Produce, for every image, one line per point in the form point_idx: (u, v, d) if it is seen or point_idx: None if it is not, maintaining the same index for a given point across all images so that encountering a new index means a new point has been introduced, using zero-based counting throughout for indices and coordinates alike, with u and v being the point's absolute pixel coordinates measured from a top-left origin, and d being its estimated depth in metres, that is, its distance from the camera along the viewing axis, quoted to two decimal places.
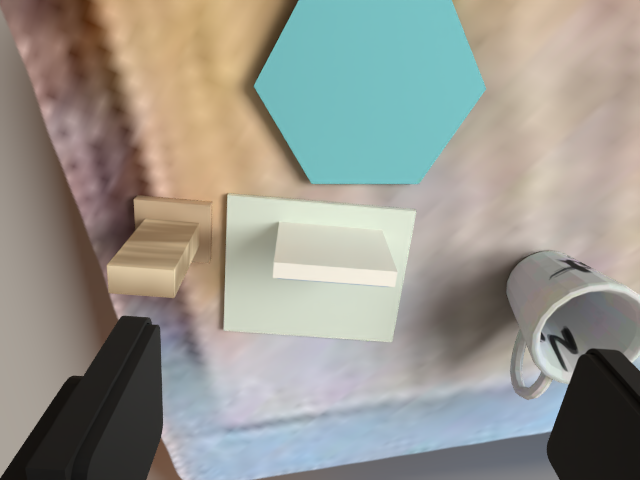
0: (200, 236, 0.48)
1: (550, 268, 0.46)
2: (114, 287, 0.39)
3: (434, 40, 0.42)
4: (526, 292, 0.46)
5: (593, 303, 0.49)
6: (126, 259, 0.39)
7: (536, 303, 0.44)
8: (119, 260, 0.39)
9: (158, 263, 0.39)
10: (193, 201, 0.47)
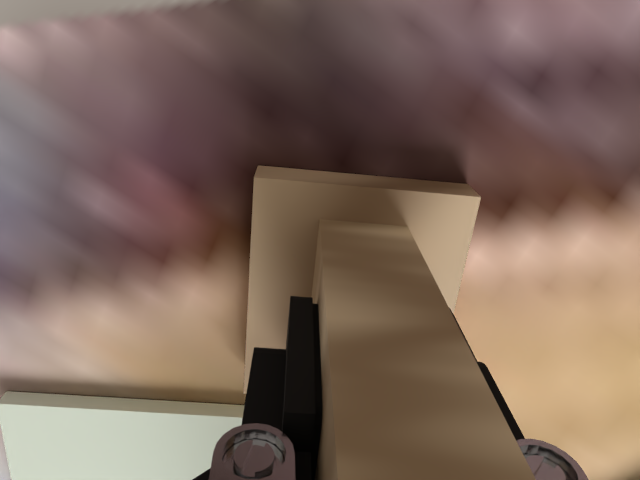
0: None
1: None
2: None
3: None
4: None
5: None
6: None
7: None
8: None
9: None
10: None
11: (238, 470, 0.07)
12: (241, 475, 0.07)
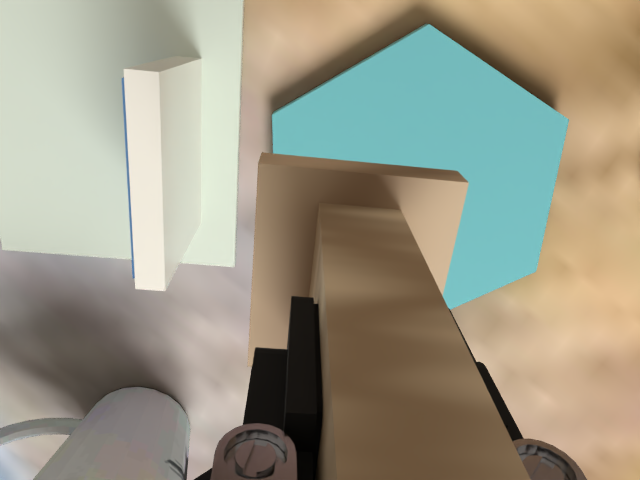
0: None
1: (176, 450, 0.35)
2: None
3: (463, 270, 0.33)
4: (138, 434, 0.33)
5: None
6: None
7: (130, 463, 0.30)
8: None
9: None
10: None
11: (239, 470, 0.07)
12: (242, 475, 0.07)
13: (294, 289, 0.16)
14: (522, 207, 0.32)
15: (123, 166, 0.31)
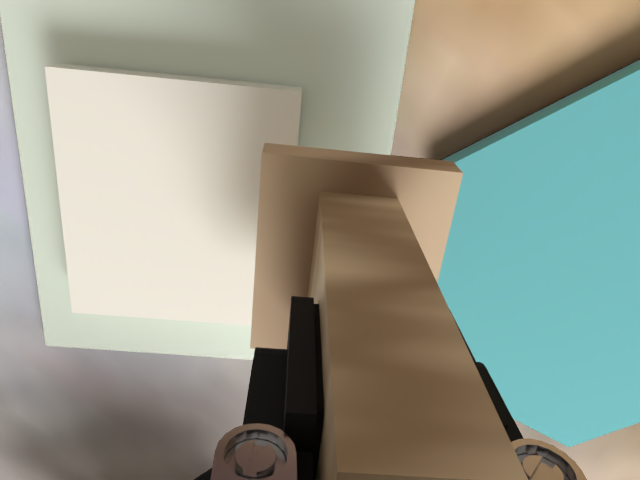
0: None
1: None
2: None
3: None
4: None
5: None
6: None
7: None
8: None
9: None
10: None
11: (240, 470, 0.07)
12: (243, 475, 0.07)
13: (295, 275, 0.16)
14: None
15: None
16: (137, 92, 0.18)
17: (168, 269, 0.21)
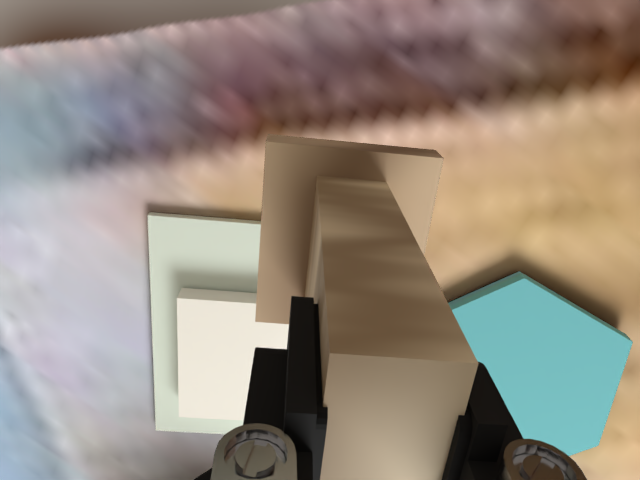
0: None
1: None
2: (360, 378, 0.08)
3: None
4: None
5: None
6: None
7: None
8: None
9: None
10: None
11: (240, 470, 0.07)
12: (243, 475, 0.07)
13: (295, 252, 0.18)
14: (590, 401, 0.38)
15: None
16: (225, 309, 0.33)
17: (236, 393, 0.36)
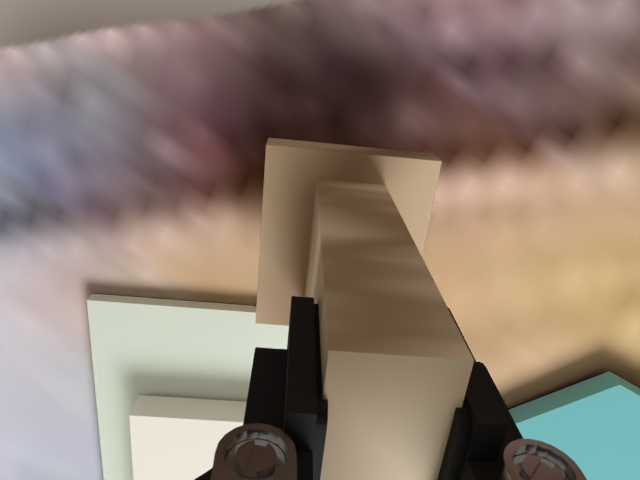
0: None
1: None
2: (358, 376, 0.08)
3: None
4: None
5: None
6: None
7: None
8: None
9: None
10: None
11: (240, 470, 0.07)
12: (243, 475, 0.07)
13: (295, 254, 0.18)
14: None
15: None
16: (198, 429, 0.24)
17: None
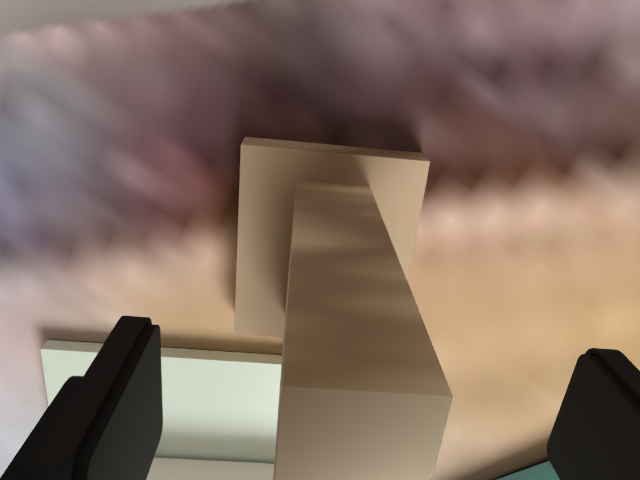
0: None
1: None
2: (317, 414, 0.07)
3: None
4: None
5: None
6: None
7: None
8: None
9: None
10: None
11: None
12: None
13: (275, 261, 0.17)
14: None
15: None
16: None
17: None
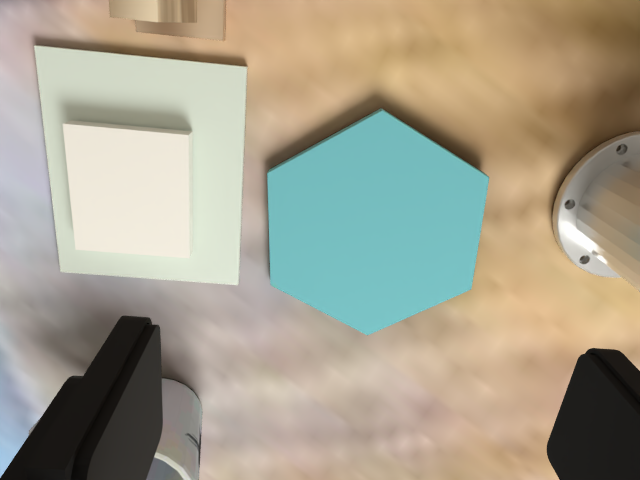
0: (176, 22, 0.35)
1: (192, 426, 0.44)
2: None
3: (414, 288, 0.43)
4: (164, 414, 0.43)
5: (155, 466, 0.47)
6: None
7: None
8: None
9: None
10: (225, 13, 0.35)
11: None
12: None
13: None
14: (458, 241, 0.41)
15: None
16: (107, 135, 0.37)
17: (126, 225, 0.39)
